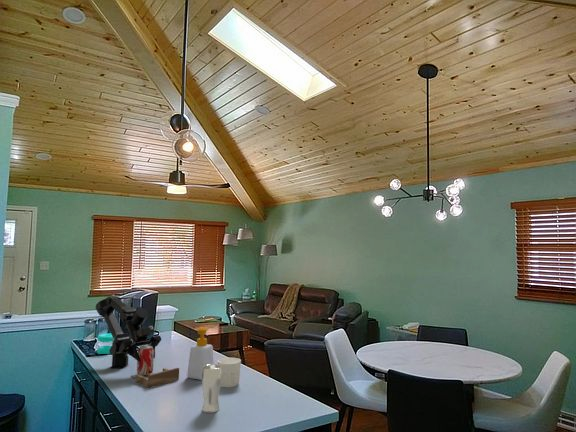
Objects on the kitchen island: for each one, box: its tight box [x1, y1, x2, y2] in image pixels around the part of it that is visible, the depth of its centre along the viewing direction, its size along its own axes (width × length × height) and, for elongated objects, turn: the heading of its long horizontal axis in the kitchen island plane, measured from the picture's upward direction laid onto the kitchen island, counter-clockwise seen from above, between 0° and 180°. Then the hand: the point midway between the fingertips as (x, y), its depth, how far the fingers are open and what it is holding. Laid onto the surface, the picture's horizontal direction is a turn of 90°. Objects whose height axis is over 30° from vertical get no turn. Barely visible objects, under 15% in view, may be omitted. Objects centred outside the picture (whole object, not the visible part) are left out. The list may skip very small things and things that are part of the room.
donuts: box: [96, 332, 113, 355], centre depth 222 cm, size 10×10×10 cm
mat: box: [130, 372, 154, 379], centre depth 181 cm, size 9×9×1 cm
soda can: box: [136, 345, 155, 376], centre depth 182 cm, size 7×7×12 cm
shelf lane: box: [135, 367, 180, 389], centre depth 175 cm, size 11×14×5 cm
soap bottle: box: [186, 326, 215, 381], centre depth 184 cm, size 10×14×22 cm
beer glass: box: [201, 363, 221, 414], centre depth 144 cm, size 7×7×15 cm
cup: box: [217, 357, 242, 388], centre depth 172 cm, size 10×10×10 cm
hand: (147, 359), depth 181 cm, fingers closed on soda can, 7 cm apart
